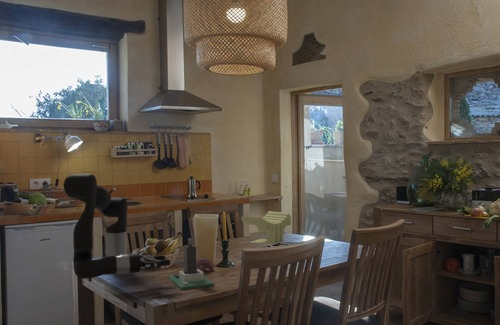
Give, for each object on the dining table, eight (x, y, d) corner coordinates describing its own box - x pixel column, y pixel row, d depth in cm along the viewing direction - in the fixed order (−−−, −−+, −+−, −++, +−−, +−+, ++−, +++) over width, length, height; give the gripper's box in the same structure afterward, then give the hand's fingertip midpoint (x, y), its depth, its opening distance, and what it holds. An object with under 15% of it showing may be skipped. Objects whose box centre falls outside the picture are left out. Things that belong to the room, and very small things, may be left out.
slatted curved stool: (265, 250, 265) (265, 218, 264) (241, 247, 274) (241, 216, 273) (291, 242, 290) (291, 212, 289) (268, 239, 299) (268, 211, 298)
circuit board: (168, 277, 207) (168, 268, 207) (199, 274, 212) (199, 265, 212) (180, 289, 189) (180, 279, 188) (214, 285, 194) (214, 275, 194)
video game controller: (208, 272, 222) (203, 258, 224) (215, 269, 219) (210, 255, 221) (193, 276, 214) (188, 262, 216) (200, 273, 212) (195, 258, 213)
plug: (184, 278, 201) (184, 238, 201) (195, 277, 203) (195, 237, 203) (187, 280, 198) (186, 240, 197) (198, 279, 200) (198, 239, 199)
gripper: (130, 257, 183) (171, 254, 190) (124, 251, 196) (163, 247, 203) (130, 277, 183) (171, 273, 190) (124, 269, 196) (163, 265, 203)
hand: (167, 260), depth 196 cm, fingers open, 8 cm apart
